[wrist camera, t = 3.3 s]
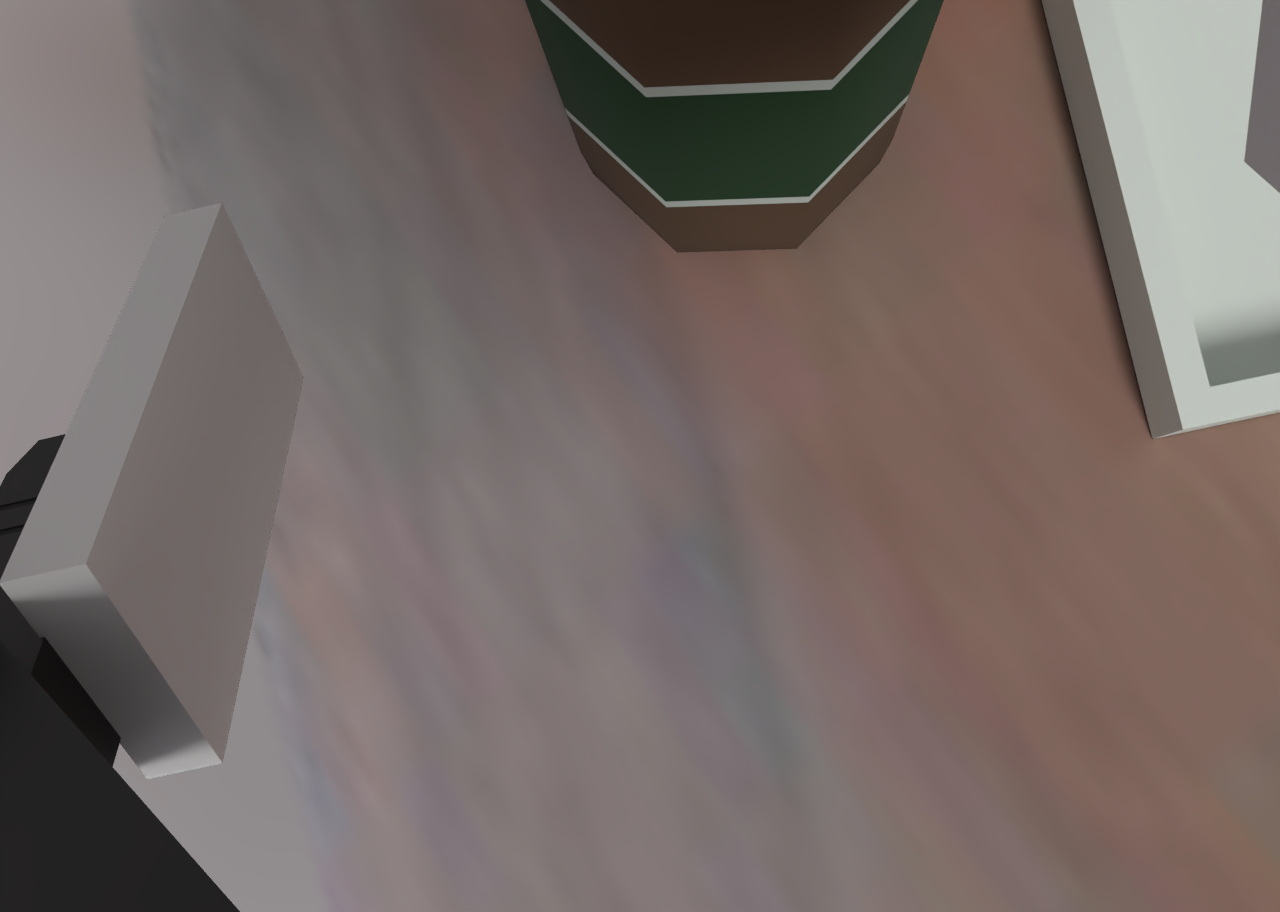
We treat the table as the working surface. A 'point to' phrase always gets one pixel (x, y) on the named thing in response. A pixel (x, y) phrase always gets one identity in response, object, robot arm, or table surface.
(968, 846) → the table surface
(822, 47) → the beer bottle
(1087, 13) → the tray
